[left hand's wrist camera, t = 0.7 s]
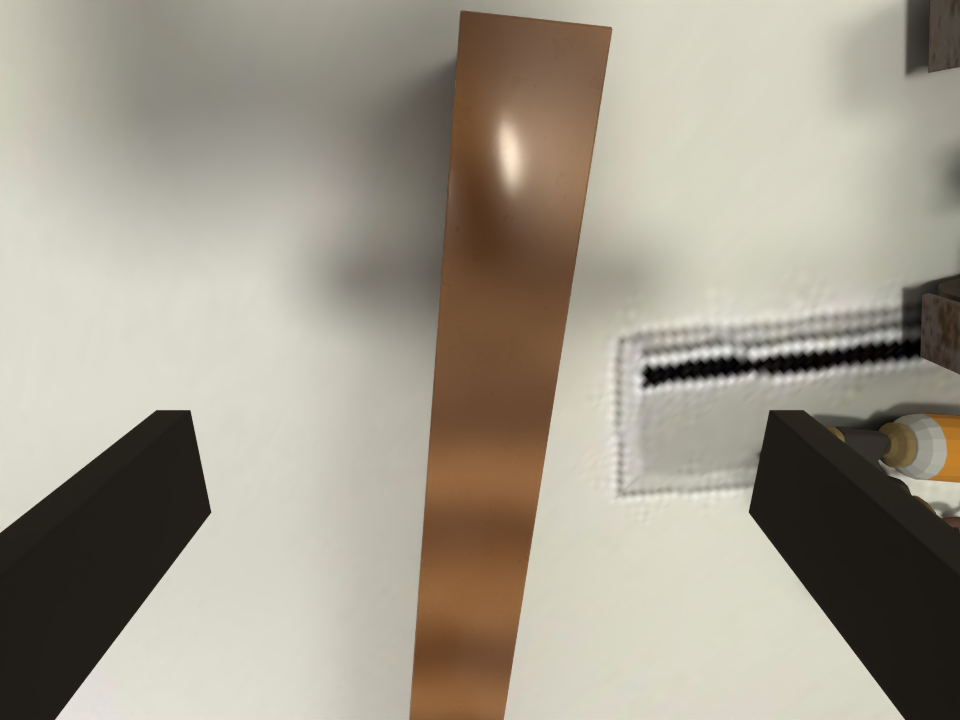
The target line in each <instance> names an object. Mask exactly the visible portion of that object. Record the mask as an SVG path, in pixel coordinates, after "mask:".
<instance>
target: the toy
mask: <svg viewBox="0 0 960 720" xmlns="http://www.w3.org/2000/svg"><path fill="white" fill-rule="evenodd" d="M956 67H960V0H930V32H929V68H928V73H929V72H935V71H940V70H945V69H951V68H956ZM921 357H922V358H924V359H927V360H929V361H931V362H933V363H936V364H938V365H940V366H942V367H945V368H947V369H949V370H951V371H954V372H956V373H958V374H960V278H957V279H953V280H949V281H945V282H941V283H940V284H939V285H938V295H934V294H931V293H926V294H922V326H921Z"/></svg>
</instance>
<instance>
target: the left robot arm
mask: <svg viewBox="0 0 960 720" xmlns="http://www.w3.org/2000/svg"><path fill="white" fill-rule="evenodd" d="M210 513H211V509H210V504H209V499H208V494H207V489H206V484H205V479H204V475H203V470H202V465H201V460H200V455H199V450H198V445H197V440H196V436H195V431H194V426H193V421H192V416H191V411H190V410H156V411H155V412H154V413H152V414H151V415H150V416H149V417H147V418H146V419H145V420H144V421H142V422H141V423H140V424H138V425H137V426H136V427H135V428H133V429H132V430H131V431H130V432H128V433H127V434H126V435H124V436H123V437H122V438H121V439H119V440H118V441H117V442H116V443H114V444H113V445H112V446H110V447H109V448H108V449H107V450H105V451H104V452H103V453H101V454H100V455H99V456H98V457H96V458H95V459H94V460H93V461H91V462H90V463H89V464H87V465H86V466H85V467H84V468H82V469H81V470H80V471H79V472H77V473H76V474H75V475H73V476H72V477H71V478H70V479H68V480H67V481H66V482H65V483H63V484H62V485H61V486H59V487H58V488H57V489H56V490H54V491H53V492H52V493H51V494H49V495H48V496H47V497H45V498H44V499H43V500H42V501H40V502H39V503H38V504H37V505H35V506H34V507H33V508H31V509H30V510H29V511H28V512H26V513H25V514H24V515H23V516H21V517H20V518H19V519H17V520H16V521H15V522H14V523H12V524H11V525H10V526H9V527H7V528H6V529H5V530H3V531H2V532H1V533H0V720H55V719H56V718H57V716H58V715H59V714H60V712H61V711H62V710H63V708H64V707H65V706H66V704H67V703H68V702H69V700H70V699H71V698H72V696H73V695H74V694H75V692H76V691H77V690H78V688H79V687H80V686H81V684H82V683H83V682H84V680H85V679H86V678H87V676H88V675H89V674H90V672H91V671H92V670H93V668H94V667H95V666H96V665H97V663H98V662H99V661H100V659H101V658H102V657H103V655H104V654H105V653H106V651H107V650H108V649H109V647H110V646H111V645H112V643H113V642H114V641H115V639H116V638H117V637H118V635H119V634H120V633H121V631H122V630H123V629H124V627H125V626H126V625H127V623H128V622H129V621H130V619H131V618H132V617H133V615H134V614H135V613H136V612H137V610H138V609H139V608H140V606H141V605H142V604H143V602H144V601H145V600H146V598H147V597H148V596H149V594H150V593H151V592H152V590H153V589H154V588H155V586H156V585H157V584H158V582H159V581H160V580H161V578H162V577H163V576H164V574H165V573H166V572H167V570H168V569H169V568H170V566H171V565H172V564H173V562H174V561H175V560H176V558H177V557H178V556H179V555H180V553H181V552H182V551H183V549H184V548H185V547H186V545H187V544H188V543H189V541H190V540H191V539H192V537H193V536H194V535H195V533H196V532H197V531H198V529H199V528H200V527H201V525H202V524H203V523H204V521H205V520H206V519H207V517H208V516H209V515H210ZM749 513H750V515H751V516H752V517H753V519H754V520H755V521H756V523H757V524H758V525H759V527H760V528H761V529H762V531H763V532H764V533H765V535H766V536H767V537H768V539H769V540H770V541H771V543H772V544H773V545H774V547H775V548H776V549H777V551H778V552H779V553H780V555H781V556H782V557H783V559H784V560H785V561H786V562H787V564H788V565H789V566H790V568H791V569H792V570H793V572H794V573H795V574H796V576H797V577H798V578H799V580H800V581H801V582H802V584H803V585H804V586H805V588H806V589H807V590H808V592H809V593H810V594H811V596H812V597H813V598H814V600H815V601H816V602H817V604H818V605H819V606H820V608H821V609H822V610H823V612H824V613H825V614H826V615H827V617H828V618H829V619H830V621H831V622H832V623H833V625H834V626H835V627H836V629H837V630H838V631H839V633H840V634H841V635H842V637H843V638H844V639H845V641H846V642H847V643H848V645H849V646H850V647H851V649H852V650H853V651H854V653H855V654H856V655H857V657H858V658H859V659H860V661H861V662H862V663H863V665H864V666H865V667H866V668H867V670H868V671H869V672H870V674H871V675H872V676H873V678H874V679H875V680H876V682H877V683H878V684H879V686H880V687H881V688H882V690H883V691H884V692H885V694H886V695H887V696H888V698H889V699H890V700H891V702H892V703H893V704H894V706H895V707H896V708H897V710H898V711H899V712H900V714H901V715H902V716H903V718H904V719H905V720H960V532H958V531H957V530H955V529H954V528H953V527H951V526H950V525H949V524H948V523H946V522H945V521H944V520H943V519H941V518H940V517H939V516H937V515H936V514H935V513H934V512H932V511H931V510H930V509H929V508H927V507H926V506H925V505H923V504H922V503H921V502H920V501H918V500H917V499H916V498H915V497H913V496H912V495H911V494H909V493H908V492H907V491H906V490H904V489H903V488H902V487H901V486H899V485H898V484H897V483H895V482H894V481H893V480H892V479H890V478H889V477H888V476H887V475H885V474H884V473H883V472H881V471H880V470H879V469H878V468H876V467H875V466H874V465H873V464H871V463H870V462H869V461H867V460H866V459H865V458H864V457H862V456H861V455H860V454H859V453H857V452H856V451H855V450H853V449H852V448H851V447H850V446H848V445H847V444H846V443H844V442H843V441H842V440H841V439H839V438H838V437H837V436H836V435H834V434H833V433H832V432H830V431H829V430H828V429H827V428H825V427H824V426H823V425H822V424H820V423H819V422H818V421H816V420H815V419H814V418H813V417H811V416H810V415H809V414H808V413H806V412H805V411H804V410H770V411H769V416H768V421H767V426H766V431H765V436H764V440H763V445H762V450H761V455H760V460H759V465H758V470H757V475H756V479H755V484H754V489H753V494H752V499H751V504H750V509H749Z"/></svg>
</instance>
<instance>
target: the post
mask: <svg viewBox="0 0 960 720" xmlns="http://www.w3.org/2000/svg"><path fill="white" fill-rule="evenodd" d="M611 34H612V28H611V27H607V26H598V25H589V24H580V23H571V22H562V21H553V20H544V19H535V18H526V17H517V16H508V15H499V14H490V13H481V12H472V11H463V10H462V11H461V12H460V23H459V36H458V50H457V64H456V78H455V92H454V106H453V120H452V134H451V148H450V161H449V175H448V189H447V203H446V217H445V231H444V245H443V259H442V272H441V286H440V300H439V314H438V328H437V342H436V356H435V370H434V384H433V397H432V411H431V425H430V439H429V453H428V467H427V481H426V495H425V509H424V522H423V536H422V550H421V564H420V578H419V592H418V606H417V620H416V634H415V647H414V661H413V675H412V689H411V703H410V717H409V720H504V714H505V708H506V702H507V695H508V689H509V682H510V676H511V670H512V663H513V657H514V651H515V644H516V638H517V632H518V625H519V619H520V613H521V606H522V600H523V594H524V587H525V581H526V574H527V568H528V562H529V555H530V549H531V543H532V536H533V530H534V524H535V517H536V511H537V505H538V498H539V492H540V486H541V479H542V473H543V466H544V460H545V454H546V447H547V441H548V435H549V428H550V422H551V416H552V409H553V403H554V397H555V390H556V384H557V377H558V371H559V365H560V358H561V352H562V346H563V339H564V333H565V327H566V320H567V314H568V308H569V301H570V295H571V289H572V282H573V276H574V269H575V263H576V257H577V250H578V244H579V238H580V231H581V225H582V219H583V212H584V206H585V200H586V193H587V187H588V180H589V174H590V168H591V161H592V155H593V149H594V142H595V136H596V130H597V123H598V117H599V111H600V104H601V98H602V92H603V85H604V79H605V72H606V66H607V60H608V53H609V47H610V41H611Z"/></svg>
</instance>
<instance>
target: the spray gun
mask: <svg viewBox="0 0 960 720" xmlns="http://www.w3.org/2000/svg"><path fill="white" fill-rule="evenodd" d="M825 428H827V429H828V430H829V431H830V432H832V433H833V434H834V435H836V436H837V437H838V438H839V439H841V440H842V441H843V442H844V443H846V444H847V445H848V446H850V447H851V448H852V449H853V450H855V451H856V452H857V453H859V454H860V455H861V456H862V457H864V458H865V459H866V460H867V461H869V462H870V463H871V464H873V465H874V466H875V467H876V468H878V469H879V470H880V471H881V472H883V470H882V468H881V466H880V464H879V462H878V460H879V459H881V461H882V462H883V463H884V464H886V465H888V466H889V467H894V468H895V469H896V470H897V471H898V472H900V473H902V474H903V475H905V476H908V477H911V478H914V479H920V480H934V481H947V482H960V415H942V414H911V415H906V416H902V417H900V418H898V419H897V420H895V421H894V422H893V423H886V424H885V425H883V426H882V427H881V428H880V429H879V431H873V430H864V429H855V428H846V427H833V426H825ZM883 473H884V472H883ZM888 477H889V478H890V479H892V480H893V481H894V482H895V483H897V484H898V485H899V486H901V487H902V488H903V489H904V490H906V491H907V492H908V493H909V494H911V493H910V491H909V488H908V486H907V485H906V484H905V483H904V482H903V481H901V480H900V479H897V478H894V477H891V476H888ZM913 497H915V498H916V499H917V500H918V501H920V502H921V503H922V504H923V505H925V506H926V507H927V508H929V509H930V510H931V511H932V512H934V513H935V514H936V512H935V511H934V510H933V509H932V507H931V506H930V505H929V504H928V503H927V502H925V501H924V500H923V499H921V498H920V497H918V496H913ZM941 519H943V520H944V521H945V522H946V523H948V524H949V525H950V526H951V527H953V528H954V527H958V530H959V532H960V517H949V518H941Z"/></svg>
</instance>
